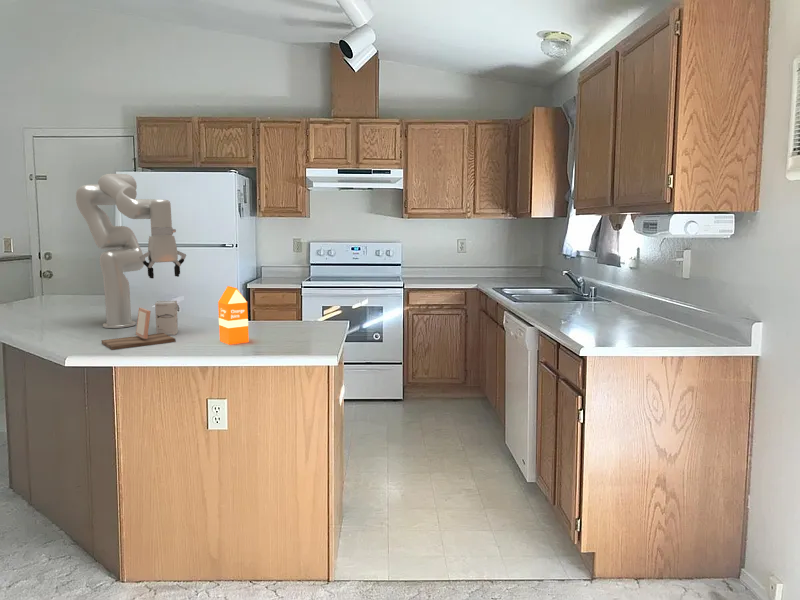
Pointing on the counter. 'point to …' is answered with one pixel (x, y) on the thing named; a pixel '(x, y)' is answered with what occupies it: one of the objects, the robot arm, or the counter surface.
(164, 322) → the supplement box
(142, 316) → the tile
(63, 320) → the counter surface
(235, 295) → the orange juice
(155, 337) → the board
